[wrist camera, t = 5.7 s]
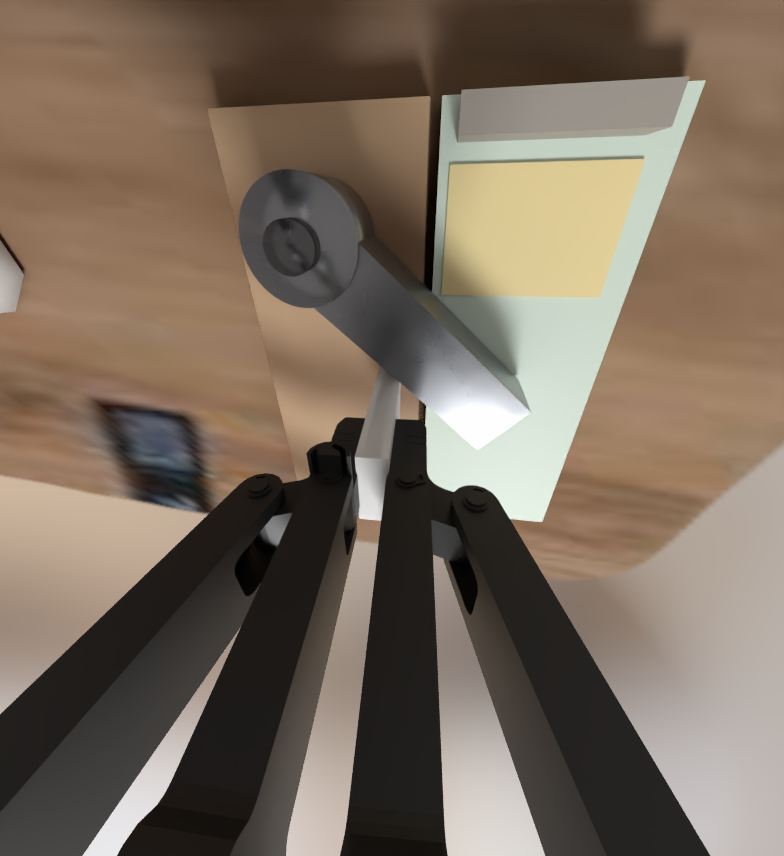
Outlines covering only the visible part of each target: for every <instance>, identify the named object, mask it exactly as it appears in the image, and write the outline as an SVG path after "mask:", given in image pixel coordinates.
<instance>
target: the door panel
mask: <svg viewBox="0 0 784 856" xmlns="http://www.w3.org/2000/svg"><path fill="white" fill-rule="evenodd" d="M689 77H690V76H689ZM689 77H672V78H655V79H637V80H620V81H603V82H586V83H569V84H552V85H534V86H517V87H500V88H483V89H466V90H462V91H461V94H457V95H442V111H441V130H440V150H439V169H438V188H437V208H436V227H435V246H434V266H433V285H432V293H433V294H434V295H435V296H436V297H437V298H438V299H439V300H440V301H441V302H442V303H443V304H444V305H445V306H446V307H447V308H448V309H449V310H450V311H451V312H452V313H453V314H454V315H455V316H456V317H457V318H458V319H459V320H460V321H461V322H462V323H463V324H464V325H465V326H466V327H467V328H468V329H469V330H470V331H471V332H472V333H473V334H474V335H475V336H476V337H477V338H478V339H479V340H480V341H481V342H482V343H483V344H484V345H485V346H486V347H487V348H488V349H489V350H490V351H491V352H492V353H493V354H494V355H495V356H496V357H497V358H498V359H499V360H500V361H501V362H502V363H503V364H504V365H505V366H506V367H507V368H508V369H509V370H510V371H511V372H512V373H513V374H514V375H515V376H516V378H517V379H518V380H519V382H520V384H521V387H522V390H523V392H524V395H525V397H526V400H527V403H528V405H529V408H530V411H531V413H530V414H529V415H527V416H526V417H525V418H523V419H522V420H520V421H519V422H517V423H516V424H514V425H513V426H511V427H510V428H508V429H507V430H505V431H504V432H502V433H501V434H500V435H498V436H497V437H495V438H494V439H492V440H491V441H489V442H488V443H486V444H485V445H483V446H482V447H480V448H479V449H478V450H477V449H476V448H475V447H474V446H473V445H471V444H470V443H469V442H468V441H467V440H466V439H464V438H463V437H462V436H461V435H460V434H459V433H458V432H456V431H455V430H454V429H453V428H452V427H451V426H449V425H448V424H447V423H446V422H445V421H444V420H443V419H441V418H440V417H439V416H438V415H437V414H436V413H434V412H433V411H432V410H431V409H430V408H429V407H428V406H426V420H425V426H426V432H427V437H426V438H427V474H428V476H429V478H430V480H431V481H432V482H433V483H434V484H436V485H437V486H439V487H441V488H443V489H446V490H449V491H452V492H455V491H456V490H457V489H458V488H460V487H463V486H466V485H476V486H480V487H483V488H485V489H487V490H489V491H490V492H492V493H493V494H494V495H495V496H496V498H497V499H498V500H499V502H500V504H501V505H502V507H503V509H504V510H505V512H506V514H507V515H508V517H509V519H517V520H527V521H537V522H542V521H543V518H544V516H545V513H546V510H547V507H548V505H549V502H550V499H551V497H552V494H553V491H554V489H555V486H556V483H557V480H558V478H559V475H560V472H561V470H562V467H563V464H564V462H565V459H566V456H567V453H568V451H569V448H570V445H571V443H572V440H573V437H574V435H575V432H576V429H577V426H578V424H579V421H580V418H581V416H582V413H583V410H584V408H585V405H586V402H587V399H588V397H589V394H590V391H591V389H592V386H593V383H594V381H595V378H596V375H597V372H598V370H599V367H600V364H601V362H602V359H603V356H604V354H605V351H606V348H607V345H608V343H609V340H610V337H611V335H612V332H613V329H614V327H615V324H616V321H617V318H618V316H619V313H620V310H621V308H622V305H623V302H624V300H625V297H626V294H627V291H628V289H629V286H630V283H631V281H632V278H633V275H634V273H635V270H636V267H637V265H638V262H639V259H640V256H641V254H642V251H643V248H644V246H645V243H646V240H647V238H648V235H649V232H650V229H651V227H652V224H653V221H654V219H655V216H656V213H657V211H658V208H659V205H660V202H661V200H662V197H663V194H664V192H665V189H666V186H667V184H668V181H669V178H670V175H671V173H672V170H673V167H674V165H675V162H676V159H677V157H678V154H679V151H680V148H681V146H682V143H683V140H684V138H685V135H686V132H687V130H688V127H689V124H690V121H691V119H692V116H693V113H694V111H695V108H696V105H697V103H698V100H699V97H700V94H701V92H702V89H703V86H704V84H705V81H706V80H704V81H688V80H689Z"/></svg>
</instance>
